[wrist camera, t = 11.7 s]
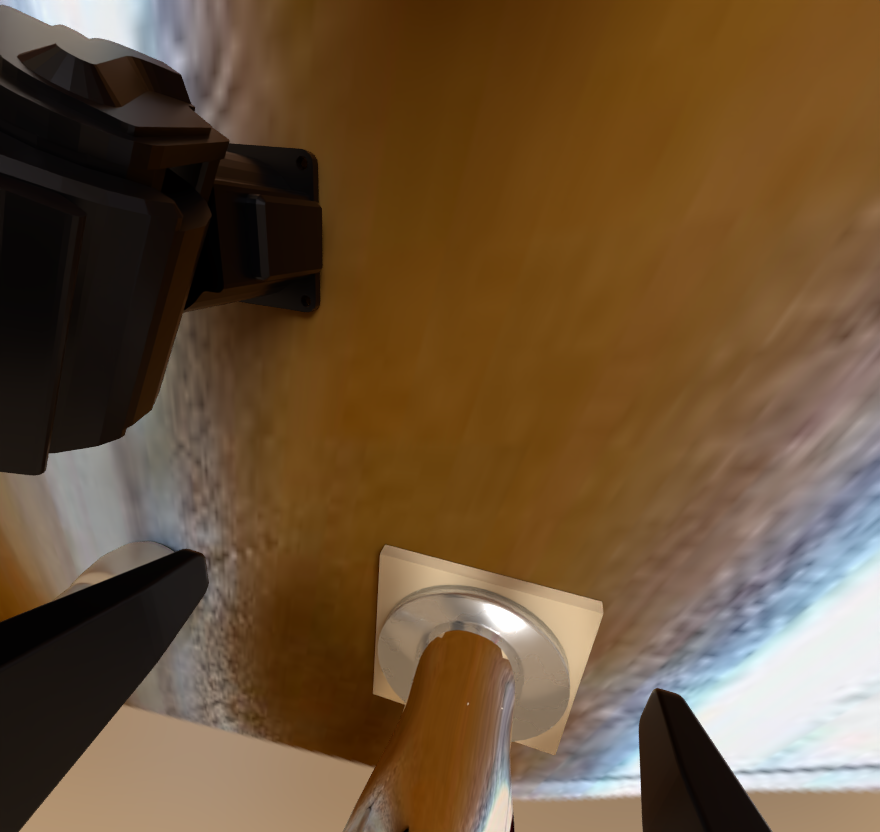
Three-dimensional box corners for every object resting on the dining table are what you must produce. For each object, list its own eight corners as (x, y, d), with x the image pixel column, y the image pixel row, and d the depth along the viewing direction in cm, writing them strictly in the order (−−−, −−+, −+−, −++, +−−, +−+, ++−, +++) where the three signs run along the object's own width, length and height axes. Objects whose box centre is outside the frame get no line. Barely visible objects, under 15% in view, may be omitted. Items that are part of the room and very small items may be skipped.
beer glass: (520, 722, 25) (475, 1289, 12) (404, 684, 26) (242, 1155, 13) (546, 636, 22) (527, 1247, 9) (415, 598, 23) (222, 1082, 10)
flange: (380, 691, 29) (374, 706, 28) (387, 563, 24) (381, 576, 24) (548, 747, 27) (547, 766, 26) (590, 618, 22) (591, 634, 21)
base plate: (377, 682, 30) (372, 693, 29) (385, 544, 25) (380, 553, 24) (555, 741, 28) (554, 755, 27) (602, 601, 23) (603, 613, 22)
